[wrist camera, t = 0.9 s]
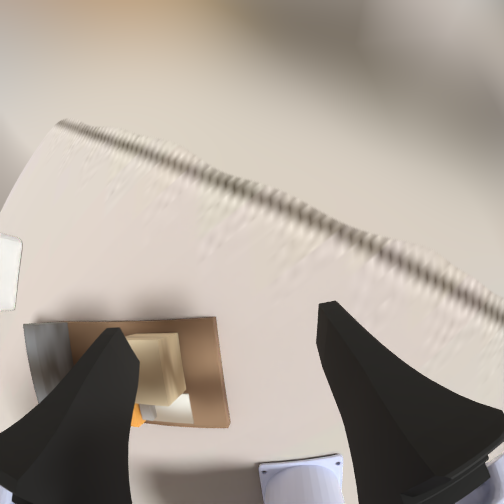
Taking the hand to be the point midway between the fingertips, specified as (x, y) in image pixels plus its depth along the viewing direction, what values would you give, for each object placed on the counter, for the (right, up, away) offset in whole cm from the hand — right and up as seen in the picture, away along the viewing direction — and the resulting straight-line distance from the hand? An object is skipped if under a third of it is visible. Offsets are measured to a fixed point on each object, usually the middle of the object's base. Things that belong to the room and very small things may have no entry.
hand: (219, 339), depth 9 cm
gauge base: (-10, -8, +13) cm, 19 cm away
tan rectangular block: (-6, -7, +11) cm, 15 cm away
